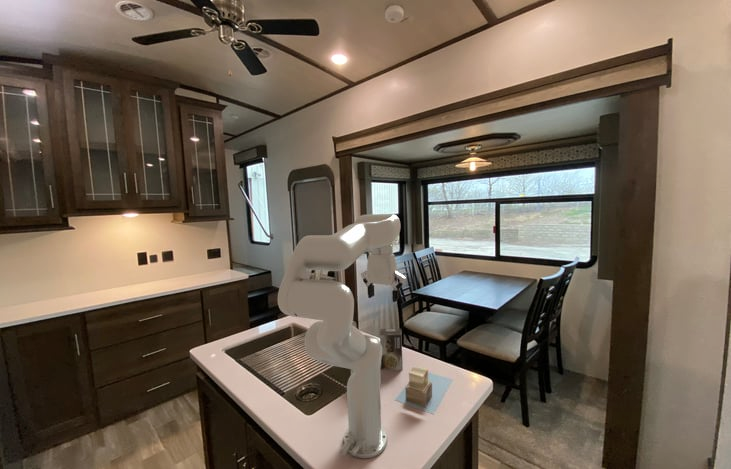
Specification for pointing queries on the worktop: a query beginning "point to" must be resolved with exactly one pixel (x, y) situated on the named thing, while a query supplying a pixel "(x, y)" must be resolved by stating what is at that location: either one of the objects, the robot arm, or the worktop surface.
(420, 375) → the maple block
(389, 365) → the coffee box
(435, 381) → the board
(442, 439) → the worktop surface
